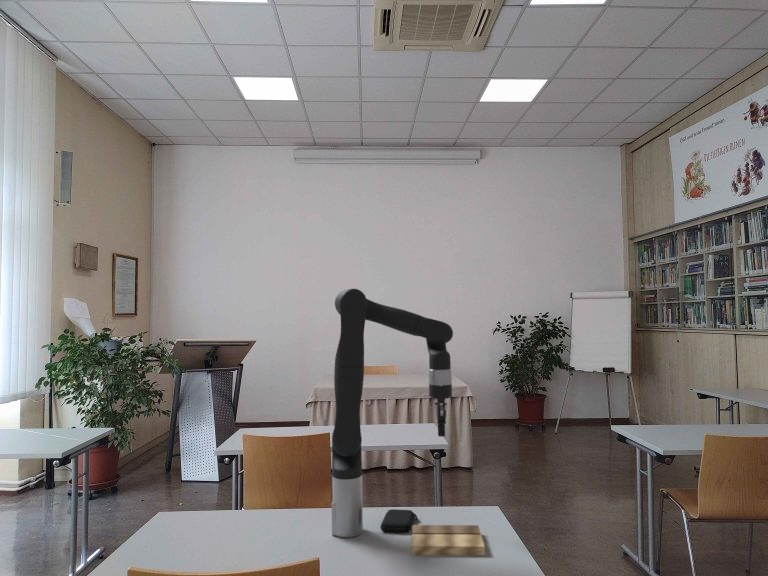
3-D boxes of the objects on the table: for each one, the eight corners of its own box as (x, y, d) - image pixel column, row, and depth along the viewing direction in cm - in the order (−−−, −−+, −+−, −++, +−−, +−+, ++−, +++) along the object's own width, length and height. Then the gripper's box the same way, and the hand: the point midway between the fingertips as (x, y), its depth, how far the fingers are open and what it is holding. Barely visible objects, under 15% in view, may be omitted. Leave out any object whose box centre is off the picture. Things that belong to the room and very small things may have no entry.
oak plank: (412, 554, 150) (412, 546, 150) (412, 542, 158) (412, 534, 158) (484, 555, 149) (484, 546, 149) (481, 542, 157) (481, 534, 157)
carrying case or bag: (413, 535, 164) (418, 518, 179) (413, 525, 164) (418, 508, 179) (379, 534, 166) (387, 516, 180) (379, 524, 166) (386, 507, 180)
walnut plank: (412, 541, 159) (412, 532, 159) (412, 533, 165) (412, 525, 165) (480, 541, 158) (480, 533, 158) (478, 533, 164) (478, 525, 164)
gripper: (428, 380, 185) (429, 431, 184) (429, 385, 171) (430, 440, 171) (450, 380, 184) (451, 431, 183) (453, 385, 171) (454, 440, 170)
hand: (441, 435), depth 177 cm, fingers closed
